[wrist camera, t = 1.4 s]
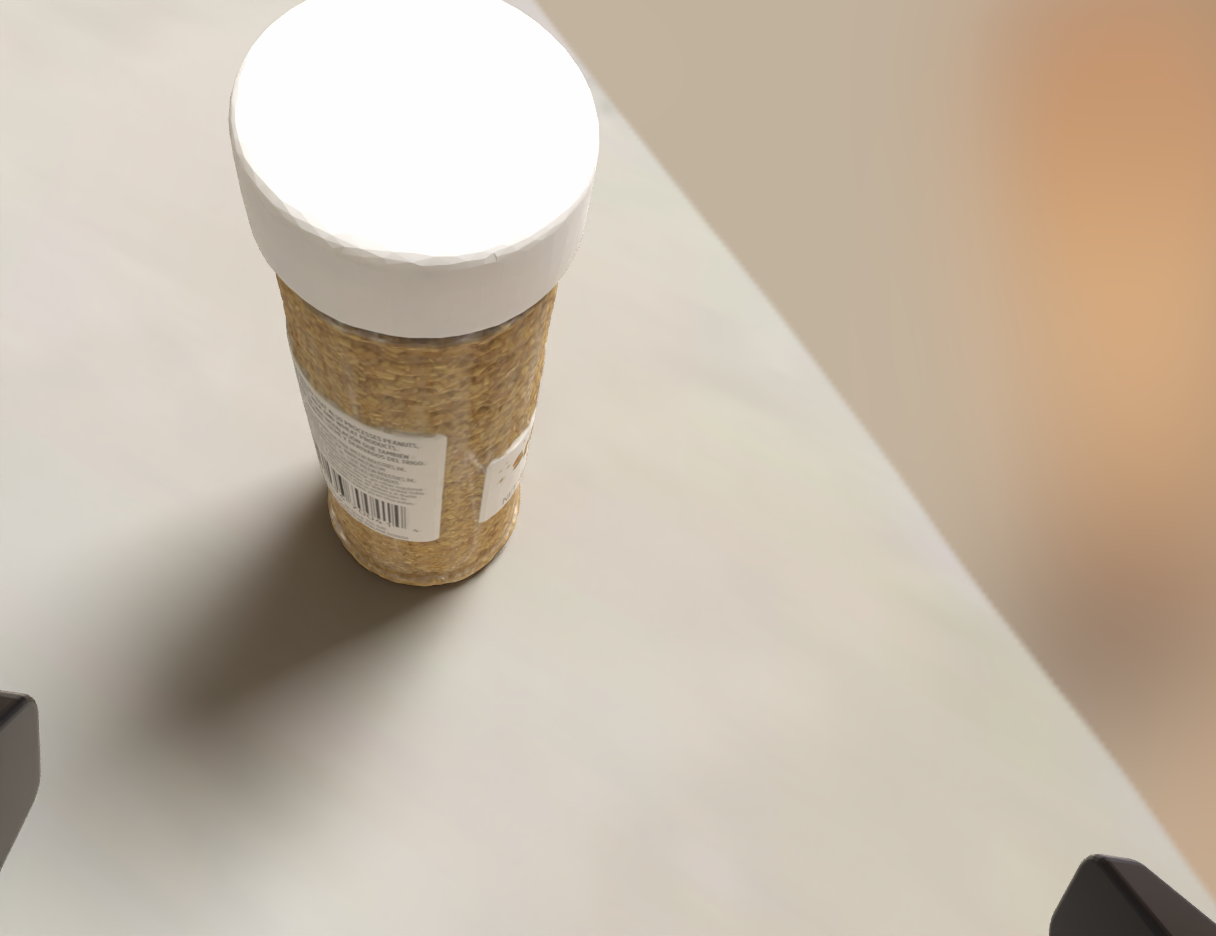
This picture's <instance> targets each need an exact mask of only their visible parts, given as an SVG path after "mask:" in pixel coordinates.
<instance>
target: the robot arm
mask: <svg viewBox="0 0 1216 936" xmlns="http://www.w3.org/2000/svg"><path fill="white" fill-rule="evenodd" d="M39 782H40V745H39V720H38V708H37V704H36V702H35V700H34V699H33V698H32V697H30V696H29V695H27V694H22V693H16V692H9V691H2V690H0V871H1V869H2V866H3V864H4V862H5V860H6V858H7V856H8V854H9V852H10V850H11V848H12V846H13V844H14V842H15V840H16V838H17V836H18V834H19V831H20V829H21V827H22V825H23V823H24V821H25V819H26V817H27V815H28V813H29V811H30V809H31V807H32V804H33V802H34V800H35V797H36V794H37V791H38V787H39ZM1049 936H1216V924H1215V923H1214V922H1213V921H1212V920H1210V919H1209V918H1208V917H1207V916H1206V915H1204V914H1203V913H1202V912H1201V911H1199V910H1198V909H1197V908H1196V907H1195V906H1193V905H1192V904H1191V903H1190V902H1188V901H1187V900H1186V899H1185V898H1184V897H1182V896H1181V895H1180V894H1179V893H1177V892H1176V891H1175V890H1174V889H1172V888H1171V887H1170V886H1169V885H1168V884H1166V883H1165V882H1164V881H1163V880H1161V879H1160V878H1159V877H1158V876H1157V875H1155V874H1154V873H1153V872H1152V871H1150V870H1149V869H1148V868H1147V867H1146V866H1144V865H1143V864H1141V863H1140V862H1138V861H1135V860H1132V859H1129V858H1122V857H1115V856H1109V855H1102V854H1094V855H1090V856H1088V857H1087V858H1086V859H1084V860H1083V861H1082V862H1081V864H1080V865H1079V867H1078V869H1077V871H1076V873H1075V875H1074V876H1073V878H1072V880H1071V882H1070V884H1069V886H1068V887H1067V889H1066V891H1065V893H1064V895H1063V897H1062V898H1061V900H1060V902H1059V904H1058V906H1057V908H1056V909H1055V911H1054V913H1053V916H1052V918H1051V923H1050V929H1049Z"/></svg>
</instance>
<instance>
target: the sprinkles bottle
mask: <svg viewBox="0 0 1216 936" xmlns="http://www.w3.org/2000/svg"><path fill="white" fill-rule="evenodd" d="M229 131H230V139H231V145H232V150H233V156H234V161H235V166H236V170H237V175H238V180H239V184H240V189H241V193H242V197H243V201H244V205H245V208H246V212H247V216H248V219H249V223H250V226H251V229H252V233H253V236H254V238H255V240H256V242H257V244H258V247H259V249H260V251H261V252H262V254H263V256H264V257H265V259H266V261H267V263H268V264H269V265H270V267H271V268H272V269H273V270H274V271H275V273H276V277H277V281H278V285H279V288H280V293H281V297H282V300H283V306H284V311H285V315H286V329H287V338H288V342H289V347H290V351H291V355H292V359H293V363H294V367H295V371H296V375H297V379H298V383H299V387H300V391H301V395H302V400H303V403H304V407H305V411H306V414H307V418H308V422H309V426H310V429H311V433H312V437H313V440H314V444H315V448H316V451H317V455H318V459H319V463H320V467H321V470H322V472H323V475H324V477H325V480H326V482H327V485H328V508H329V513H330V517H331V521H332V525H333V527H334V530H335V532H336V534H337V535H338V537H339V538H340V539H341V541H342V543H343V545H344V547H345V548H346V550H347V551H348V552H349V553H351V554H352V555H353V557H354V558H355V559H356V560H357V561H358V563H359V564H361V565H362V566H363V567H365V568H366V569H368V570H369V571H371V572H374V573H376V574H377V575H379V576H381V577H382V578H384V579H388V580H390V581H393V582H395V583H402V584H407V585H417V586H431V585H441V584H445V583H452V582H457V581H460V580H462V579H465V578H467V577H468V576H470V575H472V574H473V573H475V572H477V571H478V570H480V569H481V568H482V567H484V566H485V565H486V564H487V563H489V562H490V561H491V560H492V559H493V557H494V556H495V554H496V553H498V552H499V551H500V550H501V548H502V547H503V546H504V544H505V543H506V542H507V541H508V539H509V537H510V535H511V534H512V531H513V529H514V526H515V523H516V518H517V515H518V512H519V505H520V479H521V477H522V474H523V472H524V468H525V464H526V460H527V455H528V449H529V444H530V439H531V434H532V429H533V424H534V419H535V414H536V409H537V403H538V398H539V393H540V388H541V382H542V377H543V370H544V363H545V355H546V342H547V336H548V329H549V325H550V319H551V314H552V311H553V307H554V301H555V297H556V291H557V285H558V281H559V280H560V278H561V277H562V276H563V275H564V273H565V272H566V271H567V269H568V268H569V266H570V264H571V262H572V261H573V259H574V257H575V254H576V252H577V250H578V248H579V245H580V242H581V239H582V236H583V232H584V228H585V223H586V219H587V214H588V210H589V205H590V200H591V195H592V189H593V184H594V178H595V172H596V166H597V159H598V151H599V126H598V118H597V114H596V110H595V106H594V102H593V99H592V95H591V92H590V89H589V88H588V86H587V83H586V81H585V79H584V77H583V75H582V73H581V72H580V70H579V68H578V67H577V65H576V64H575V62H574V61H573V60H572V58H571V57H570V56H569V54H568V53H567V51H566V50H565V49H564V48H563V47H562V46H561V45H560V44H559V43H558V42H557V41H556V40H555V39H554V38H553V37H552V36H551V35H550V34H549V33H548V32H547V31H546V30H545V29H543V28H542V27H541V26H540V25H539V24H537V23H536V22H535V21H534V20H533V19H531V18H530V17H528V16H527V15H525V14H524V13H522V12H521V11H519V10H518V9H516V8H514V7H512V6H510V5H509V4H507V3H504V2H502V1H500V0H307V1H305V2H303V3H302V4H300V5H298V6H296V7H294V8H292V9H291V10H290V11H288V12H287V13H286V14H284V15H283V16H282V17H280V18H279V19H278V20H276V21H275V22H274V23H273V24H272V25H271V26H270V27H269V28H268V29H266V30H265V32H264V33H263V34H262V35H261V36H260V37H259V39H258V40H257V41H256V42H255V43H254V45H253V46H252V47H251V49H250V50H249V52H248V53H247V55H246V57H245V59H244V61H243V63H242V65H241V67H240V69H239V72H238V74H237V76H236V79H235V82H234V86H233V89H232V93H231V96H230V108H229Z"/></svg>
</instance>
